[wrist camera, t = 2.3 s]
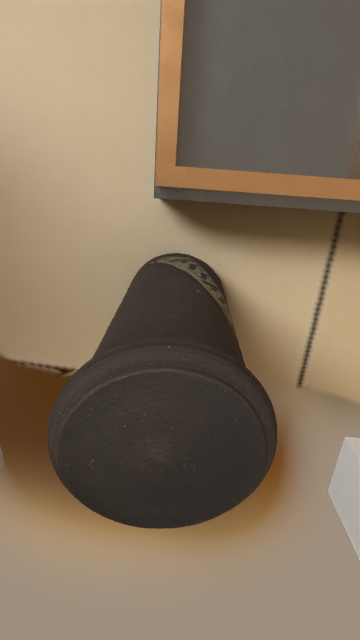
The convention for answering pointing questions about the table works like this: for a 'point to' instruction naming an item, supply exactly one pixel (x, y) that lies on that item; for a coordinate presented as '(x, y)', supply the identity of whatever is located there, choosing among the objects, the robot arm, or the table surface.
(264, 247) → the table surface
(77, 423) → the container
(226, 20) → the framed panel with knob
